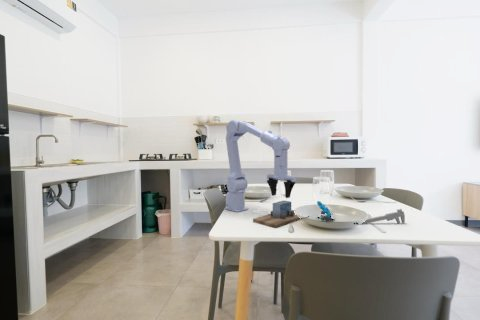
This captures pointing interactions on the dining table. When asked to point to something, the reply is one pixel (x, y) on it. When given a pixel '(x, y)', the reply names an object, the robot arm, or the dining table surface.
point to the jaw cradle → (276, 220)
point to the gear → (324, 209)
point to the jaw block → (281, 209)
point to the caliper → (388, 217)
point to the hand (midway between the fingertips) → (280, 196)
